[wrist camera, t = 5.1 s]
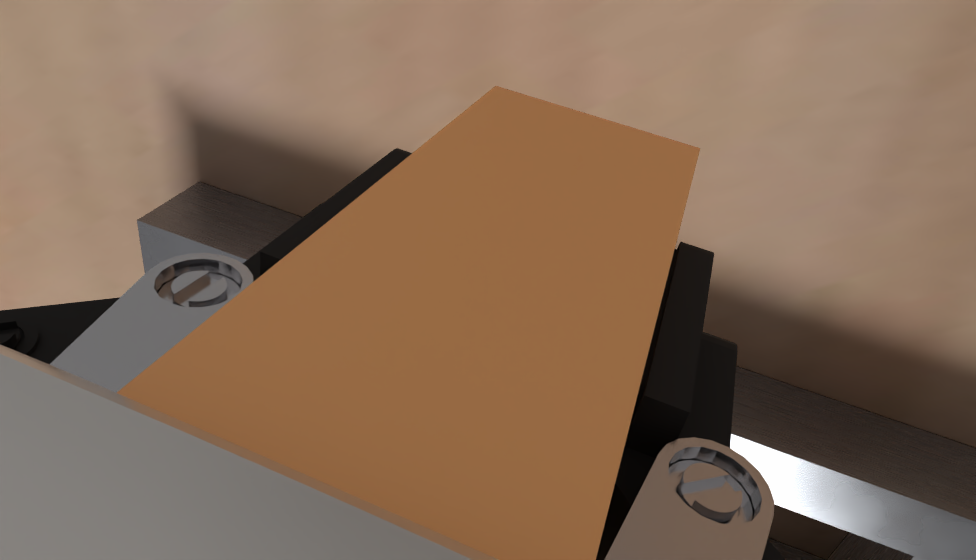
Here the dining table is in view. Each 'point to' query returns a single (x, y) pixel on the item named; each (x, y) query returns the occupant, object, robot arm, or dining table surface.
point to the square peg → (458, 330)
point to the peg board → (755, 421)
